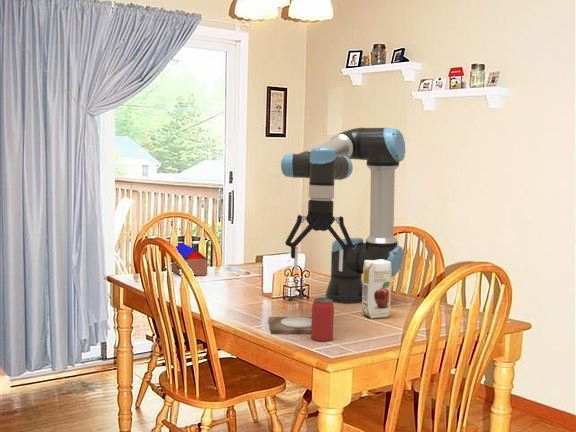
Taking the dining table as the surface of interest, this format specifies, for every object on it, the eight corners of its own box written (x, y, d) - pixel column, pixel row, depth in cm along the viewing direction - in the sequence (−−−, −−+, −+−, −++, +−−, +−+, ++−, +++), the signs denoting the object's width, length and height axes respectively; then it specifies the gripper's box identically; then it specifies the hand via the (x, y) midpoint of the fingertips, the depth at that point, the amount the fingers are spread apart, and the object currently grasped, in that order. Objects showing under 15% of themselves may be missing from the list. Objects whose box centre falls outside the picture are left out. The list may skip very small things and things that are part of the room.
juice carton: (359, 313, 236) (361, 259, 234) (380, 312, 239) (382, 258, 237) (370, 319, 229) (372, 263, 227) (392, 317, 232) (394, 262, 230)
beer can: (309, 335, 207) (310, 297, 206) (331, 335, 208) (332, 297, 207) (312, 342, 201) (313, 302, 200) (334, 342, 202) (335, 302, 200)
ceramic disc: (313, 319, 223) (313, 317, 223) (317, 328, 212) (317, 326, 212) (279, 318, 222) (279, 317, 222) (281, 328, 211) (282, 326, 211)
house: (181, 276, 294) (181, 249, 292) (167, 268, 311) (168, 243, 310) (208, 274, 299) (208, 248, 298) (193, 267, 317) (193, 242, 316)
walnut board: (323, 320, 226) (323, 317, 225) (329, 334, 210) (329, 330, 210) (268, 320, 224) (268, 316, 224) (270, 334, 208) (271, 330, 208)
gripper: (360, 200, 209) (357, 269, 211) (278, 197, 208) (276, 266, 209) (364, 201, 202) (361, 273, 203) (279, 198, 200) (277, 270, 202)
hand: (318, 270), depth 206 cm, fingers open, 13 cm apart
